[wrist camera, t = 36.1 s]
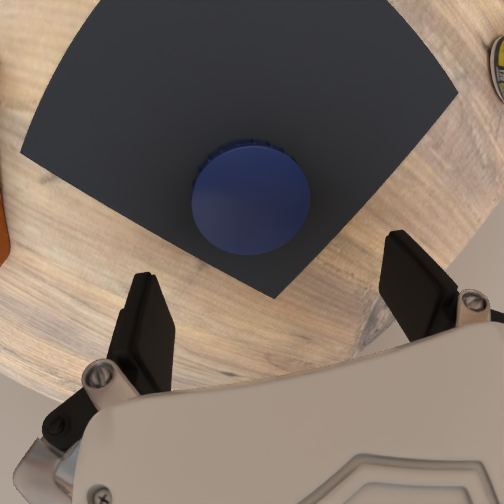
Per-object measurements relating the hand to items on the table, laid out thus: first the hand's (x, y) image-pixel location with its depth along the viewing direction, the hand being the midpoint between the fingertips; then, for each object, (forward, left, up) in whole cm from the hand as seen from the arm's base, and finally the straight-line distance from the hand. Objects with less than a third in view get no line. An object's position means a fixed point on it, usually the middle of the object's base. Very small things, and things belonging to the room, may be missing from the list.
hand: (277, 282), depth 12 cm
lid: (+1, -1, -6) cm, 6 cm away
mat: (+4, -5, -7) cm, 10 cm away
